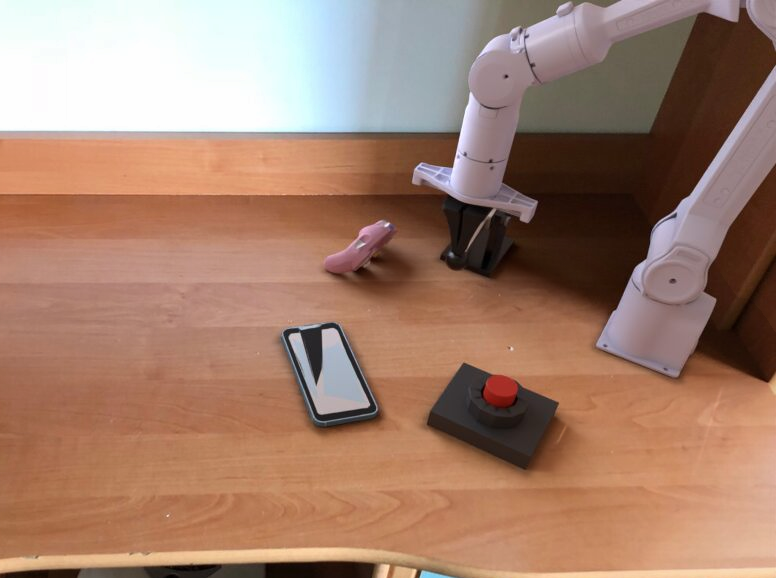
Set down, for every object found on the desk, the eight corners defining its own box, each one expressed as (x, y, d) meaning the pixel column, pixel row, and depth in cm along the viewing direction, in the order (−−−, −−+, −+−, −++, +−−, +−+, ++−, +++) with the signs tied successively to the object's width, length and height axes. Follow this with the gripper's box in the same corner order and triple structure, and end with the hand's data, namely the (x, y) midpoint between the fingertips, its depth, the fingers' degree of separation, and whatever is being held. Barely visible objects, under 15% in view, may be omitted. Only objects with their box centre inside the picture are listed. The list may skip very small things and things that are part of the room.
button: (518, 394, 83) (522, 382, 82) (507, 413, 81) (511, 401, 80) (489, 382, 84) (493, 370, 83) (478, 400, 82) (481, 388, 81)
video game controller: (342, 291, 103) (369, 261, 97) (318, 266, 103) (343, 235, 97) (383, 256, 108) (410, 226, 103) (359, 232, 109) (385, 201, 103)
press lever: (461, 278, 99) (463, 262, 97) (440, 270, 100) (442, 255, 98) (499, 219, 104) (502, 203, 102) (479, 212, 105) (482, 196, 103)
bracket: (488, 278, 103) (502, 228, 98) (439, 260, 106) (450, 210, 100) (513, 245, 109) (527, 196, 103) (465, 228, 111) (477, 179, 106)
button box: (553, 416, 86) (564, 390, 83) (525, 470, 81) (535, 445, 78) (459, 375, 90) (466, 350, 87) (426, 424, 84) (432, 399, 82)
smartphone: (314, 424, 83) (278, 328, 93) (314, 430, 84) (278, 334, 94) (381, 412, 84) (338, 320, 94) (380, 418, 85) (338, 326, 95)
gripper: (558, 154, 88) (526, 254, 98) (438, 117, 93) (419, 216, 103) (536, 182, 84) (505, 283, 93) (412, 141, 89) (395, 242, 99)
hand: (459, 250), depth 98 cm, fingers closed
